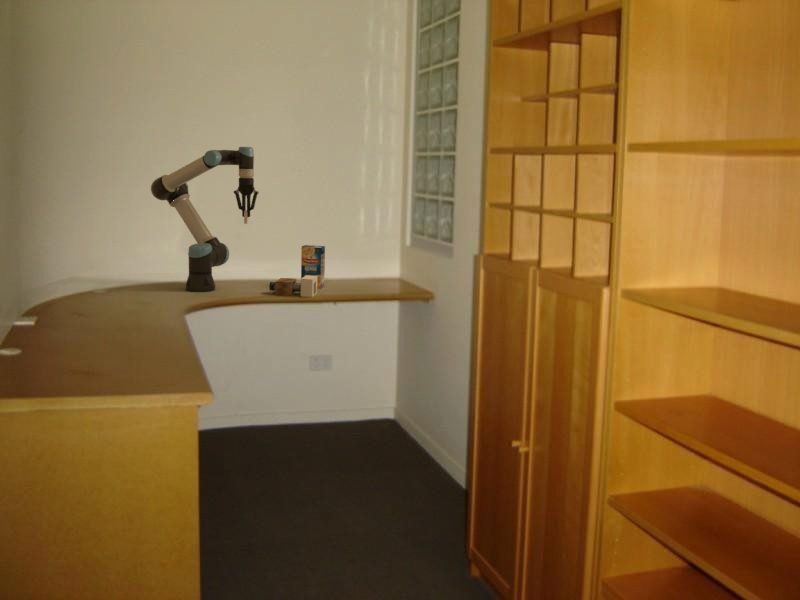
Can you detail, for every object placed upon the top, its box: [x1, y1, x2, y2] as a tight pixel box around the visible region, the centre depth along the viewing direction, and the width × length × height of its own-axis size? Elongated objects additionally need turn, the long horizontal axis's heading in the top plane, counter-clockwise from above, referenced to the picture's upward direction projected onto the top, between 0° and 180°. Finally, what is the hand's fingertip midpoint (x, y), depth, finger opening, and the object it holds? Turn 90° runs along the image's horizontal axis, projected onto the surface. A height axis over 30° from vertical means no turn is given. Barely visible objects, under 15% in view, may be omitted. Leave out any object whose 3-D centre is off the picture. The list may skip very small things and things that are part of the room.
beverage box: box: [300, 244, 326, 290], centre depth 487 cm, size 7×11×22 cm, turn 77°
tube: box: [268, 281, 301, 293], centre depth 466 cm, size 22×4×4 cm, turn 84°
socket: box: [300, 275, 318, 298], centre depth 465 cm, size 6×12×9 cm, turn 174°
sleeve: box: [274, 277, 297, 297], centre depth 466 cm, size 8×12×7 cm, turn 174°
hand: (246, 223), depth 471 cm, fingers closed
